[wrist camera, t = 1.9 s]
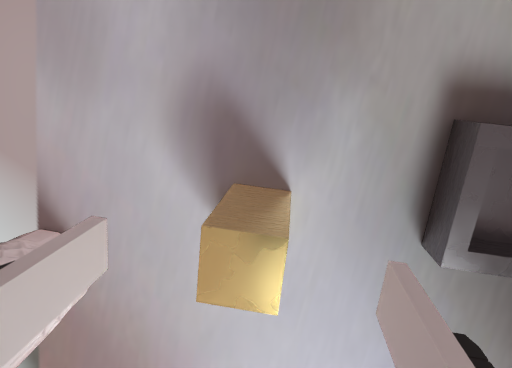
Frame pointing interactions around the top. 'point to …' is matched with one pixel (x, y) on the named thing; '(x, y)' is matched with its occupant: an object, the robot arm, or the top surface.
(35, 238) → the white cup
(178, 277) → the top surface
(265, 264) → the brass block
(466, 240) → the divided tray
